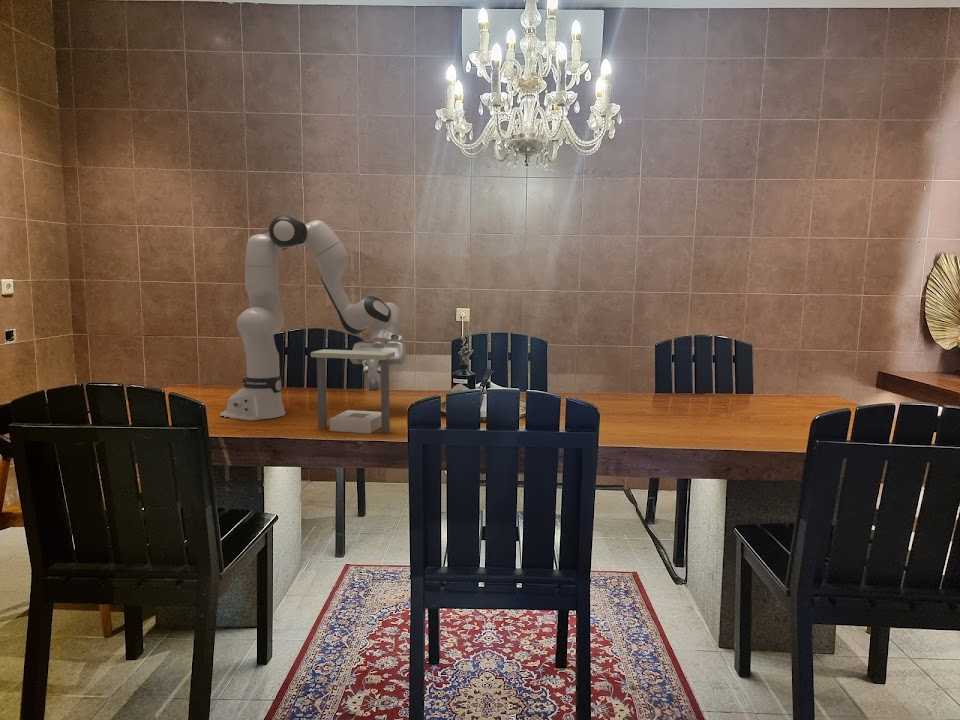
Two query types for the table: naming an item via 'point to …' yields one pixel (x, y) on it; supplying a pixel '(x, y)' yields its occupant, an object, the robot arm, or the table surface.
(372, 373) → the peg
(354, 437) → the table surface
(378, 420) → the socket
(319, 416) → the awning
